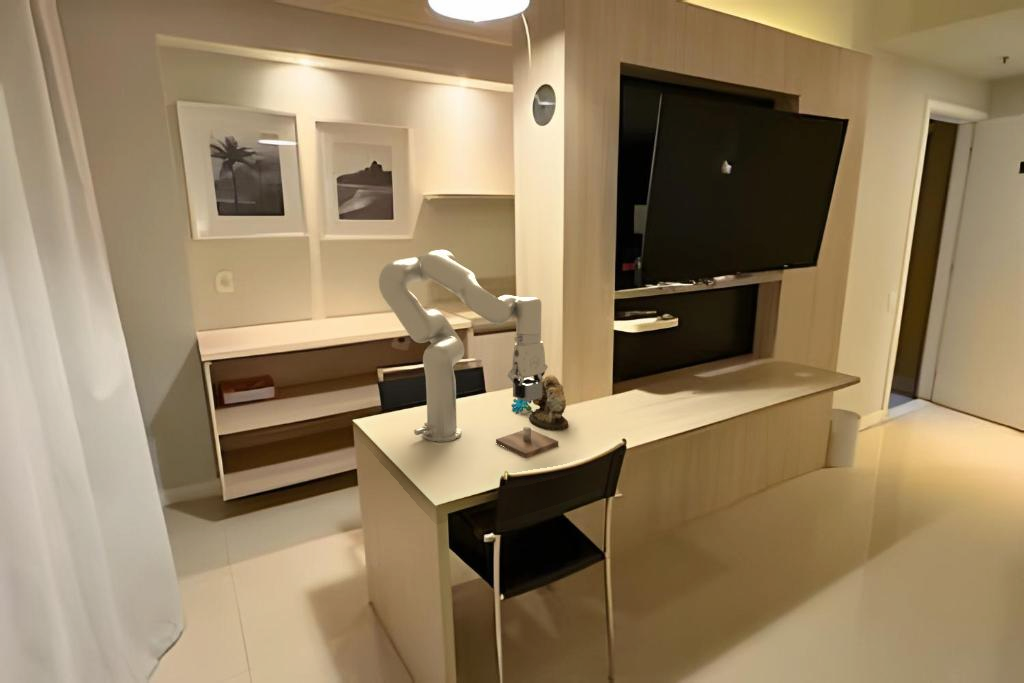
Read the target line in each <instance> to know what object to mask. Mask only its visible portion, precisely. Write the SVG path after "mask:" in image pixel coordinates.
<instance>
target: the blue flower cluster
mask: <svg viewBox="0 0 1024 683" xmlns="http://www.w3.org/2000/svg"><path fill="white" fill-rule="evenodd" d="M512 402H513V403H512V404H511V407H512V408H511V411H513V412H515V413H517V414H518V413H519V412H520V413H522V412H523V411H524V409H525V410H526V411H527V412H530V414H531V413H533V412H534V410H532V406H531V405H529V404H531V403H533V401H532V400H531V401H528V402H526V401H523V400H521V399H518V398H514V399H513V400H512Z"/></svg>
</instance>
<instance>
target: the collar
mask: <svg viewBox="0 0 1024 683" xmlns="http://www.w3.org/2000/svg"><path fill="white" fill-rule="evenodd" d="M522 385H523V386H524V397H523V398H519V397H517V396H515V384H514V383H513V382H512V397H513V398H515V399H521V400H523V401H526V402H527V403H528V401H532V400H535V399H538V398H542V382H541V381H538V380H535V379H534V378H532V377H526V378H524V381H523V384H522Z"/></svg>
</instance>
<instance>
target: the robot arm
mask: <svg viewBox="0 0 1024 683" xmlns="http://www.w3.org/2000/svg"><path fill="white" fill-rule="evenodd" d="M430 280H431V281H433V282H434V283H436V284H438V285H440V286H441V287H443V288H444V289H446V290H448V291H449V292H451V293H452V294H454V295H456V296H457V297H458V298H459V299H460V300H461V301H462V303H463V304H464V305H465V306H467V308H469V309H470V310H471V311H472V312H474V313H475V314H477V315H478V316H479V317H481V318H482V319H485V320H486V321H488V322H490V323H492V324H494V325H495V324H496V325H503V324H505V323H507V322H509V321H511V320H513V319H516V320H515V321H516V322H515V325H516V326H515V327H516V328H515V329H516V331H515V335H516V336H515V337H514V338H513V340H514V341H515V344H514V347H513V352H512V353H513V355H512V368H511V369H510V371H509V372H508V374H507V377H508V378H509V379H510V380H511V382H512V384H513V383H514V384H515V396H517V397H519V398H523V397H524V386H523V385H522V384H523V381H524V378H528V377H529V378H531V377H533V379H535V380H538V381H541V380H542V378H544V375H545V373H546V371H547V369H548V365H547V363H546V354H545V347H544V342H543V341H542V300H541V299H540V298H538V297H534V296H533V297H531V296H529V297H528V296H526V297H524V296H523V297H519V296H515V295H510V294H504V295H500V296H499V297H497V296H495V295H493V294H491V293H490V292H489V291H488V290H486V289H484V288H483V287H482V286H481V285H480V284H479V283H478V281H477V278H476V275H475V274H474V272H472V271H471V270H469V269H468V268H466V267H464V266H462V265H461V264H459V263H458V262H457V260H456V257H455V256H454V255H453V254H452V252H450V251H448V250H445V249H436V250H431V251H429V252H426V253H424V254H421V255H416V256H413V257H406V258H400V259H395V260H392V261H390V262H388V263H387V264H386V265H384V266H383V268H382V270H381V271H380V274H379V278H378V287H379V291H380V294H381V295H382V298H383V299H384V301H385V302H386V304H387V305H388V306H389V307H390V309H391V310H392V312H393V313H394V314H395V316H396V318H397V319H398V320H399V322H400V323H401V325H402V326H403V328H404V329H405V331H406V333H407V334H408V335H409V337H410V338H411V339H412V340H413V342H415V343H418V344H423V343H427V342H430V343H431V344H429V345H428V346H427V348H426V349H425V350H424V352H423V356H422V365H423V369H424V370H423V371H424V375H425V389H426V418H427V419H426V422H424V425H423V426H422V427H419V428H416V429H414V430H413V433H414V435H415V436H419V435H422V437H423V438H424V439H426V440H427V441H429V442H430V441H431V442H435V441H437V443H440V442H441V443H442V441H446V442H450V441H449V440H451V441H454V440H453V439H455V440H457V439H458V438H460V437H461V436H462V429H461V428H460V427H458V426H457V384H456V382H457V380H456V375H455V370H454V366H455V365H456V364H457V363H459V361H460V360H462V359H463V356H464V354H465V347H464V343H463V341H462V340H461V338H460V337H459V335H458V334H457V332H456V330H455V329H454V327H453V326H452V324H450V322H449V320H448V319H447V318H446V316H445V315H444V314H443V313H441V312H440V311H439V310H437V309H434V308H429V309H425V308H424V306H423V305H422V304H421V302H420V300H419V299H418V298H417V296H416V295H414V294H413V293H412V292H411V291H410V290H409V289H408V286H410V285H414V284H418V283H421V282H426V281H430ZM460 435H461V436H460ZM459 436H460V437H459ZM456 438H457V439H456Z"/></svg>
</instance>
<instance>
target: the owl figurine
mask: <svg viewBox="0 0 1024 683" xmlns="http://www.w3.org/2000/svg"><path fill="white" fill-rule="evenodd" d="M541 382H542V398H538V399H535V400H531V401H532V403H533V404H534V405H535V406H537V407H539V408H536V409H535V410H533V413H531V412H530V414H529V417H528V420H529V422H530V423H531V424H532V425H534V426H535V427H538V428H540V429H543V430H547V431H563V430H566V429H567V428H568V427H569V422H568V420H567V419H566V418H565V417H564V416H563V414H564V412H565V410H566V407H567V404H566V401H567V399H566V397H565V392H564V386H563V384H561V383H560V381H559V379H558V378H557V377H556V376H555V375H553V374H549V375H546V376H545V377H542V380H541Z"/></svg>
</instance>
